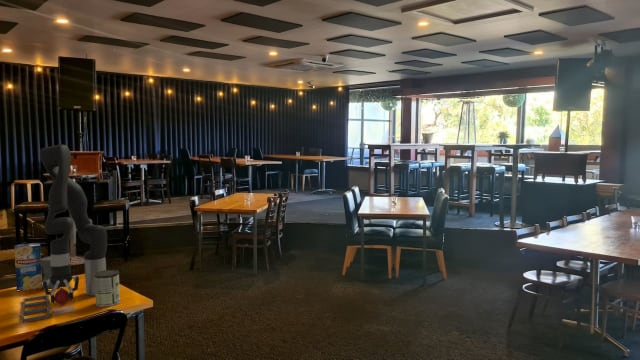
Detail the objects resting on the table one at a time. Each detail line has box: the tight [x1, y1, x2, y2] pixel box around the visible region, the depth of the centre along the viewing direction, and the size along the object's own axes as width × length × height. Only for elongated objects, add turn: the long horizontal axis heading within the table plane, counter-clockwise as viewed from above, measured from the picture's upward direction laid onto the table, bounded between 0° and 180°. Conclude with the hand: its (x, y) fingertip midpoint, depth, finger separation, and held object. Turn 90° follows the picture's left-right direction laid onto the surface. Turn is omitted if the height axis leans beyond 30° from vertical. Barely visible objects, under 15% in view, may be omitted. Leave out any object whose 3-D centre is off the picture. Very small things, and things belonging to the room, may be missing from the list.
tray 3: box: [21, 307, 52, 323], centre depth 200 cm, size 10×10×1 cm
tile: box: [51, 305, 76, 317], centre depth 206 cm, size 8×8×1 cm
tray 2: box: [22, 300, 51, 312], centre depth 209 cm, size 10×10×1 cm
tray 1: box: [22, 294, 51, 305], centre depth 218 cm, size 10×10×1 cm
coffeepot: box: [37, 251, 72, 290], centre depth 241 cm, size 15×9×18 cm, turn 117°
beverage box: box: [13, 242, 43, 291], centre depth 239 cm, size 7×11×22 cm, turn 120°
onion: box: [54, 287, 70, 307], centre depth 206 cm, size 6×6×8 cm
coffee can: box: [94, 269, 121, 308], centre depth 216 cm, size 10×10×14 cm
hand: (62, 301), depth 206 cm, fingers closed on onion, 6 cm apart
